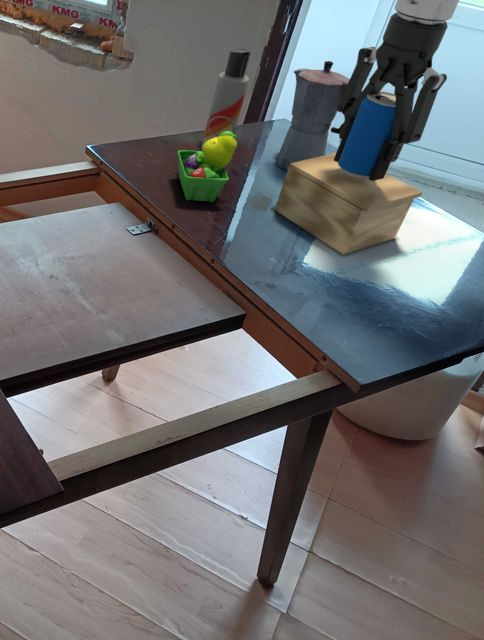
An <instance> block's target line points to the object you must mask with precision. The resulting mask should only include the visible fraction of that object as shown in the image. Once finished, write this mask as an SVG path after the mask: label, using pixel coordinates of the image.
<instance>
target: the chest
mask: <svg viewBox="0 0 484 640" xmlns="http://www.w3.org/2000/svg"><path fill="white" fill-rule="evenodd" d="M286 171H287V172H286V175H285V178H284V181H283V184H282V187H281V189H280V192H279V195H278V198H277V201H276V204H275V207H274V211H275V212H276V213H278V214H280V215H282V216H283V217H285V218H286V219H287V220H289V221H291V222H292V223H293V224H295V225H297V226H299V227H300V228H301V229H303V230H305V231H306V232H308V233H310V234H311V235H312V236H313V237H316V239H318V240H320V241H321V242H323V243H324V244H326V245H327V246H329V247H330V248H332V249H334V250H335V251H337V252H339V253H340V254H342V255H347V254H350V253H352V252H356V251H359V250H363V249H365V248H369V247H372V246H375V245H379V244H382V243H385V242H388V241H392V240H394V239H396V237H397V236H398V233H399V231H400V229H401V227H402V225H403V224H404V223H403V222H404V221H405V218H406V216H407V214H408V213H409V210H410V209H411V206H412V204H413V202H414V199H415V198H414V199H410V200H407V201H403V202H400V203H396V204H393V205H389V206H386V207H382V208H379V209H375V210H372V211H368V212H367V211H365V210H363V209H361V208H359V207H358V206H356V205H354V204H352V203H351V202H349V201H347V200H345V199H344V198H342V197H340V196H338V195H337V194H335V193H333V192H331V191H330V190H328V189H326V188H324V187H322V186H321V185H319V184H317V183H315V182H314V181H312V180H310V179H308V178H307V177H305V176H303V175H301V174H300V173H298V172H296V171H294V170H292V169H291V168H288V170H286Z"/></svg>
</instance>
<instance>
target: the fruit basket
mask: <svg viewBox="0 0 484 640" xmlns="http://www.w3.org/2000/svg"><path fill="white" fill-rule="evenodd" d="M236 138H237V135H236V134H235V133H234V134H233V133H232V132H231V131H225V132H223V133H222V134H220V135H219V137H215V138H212V139H210V140H208V141H206V142H205V143H204V145H203V147H202V146H201V147H202V148H203V151H202V150H191V149H189V150H188V149H180V150H178V151H177V158H178V178H179V181H180V185H181V188H182V191H183V194H184V198H185V200H186V201H195V202H211V203H214V202H215V200H216V199H217V197H218V196H219V194H220V192H221V191H222V190H223V187H224V185H225V184H227V182H228V180H229V176H228V174H227V170H226V169H225V167H226V166H227V165H228V164H229V163H230V161H232V158H233V155H234V152H235V150H236V148H237V145H238V144H237V143H238V142H237V140H236Z"/></svg>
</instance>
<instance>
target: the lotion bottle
mask: <svg viewBox="0 0 484 640" xmlns="http://www.w3.org/2000/svg"><path fill="white" fill-rule="evenodd" d="M251 55H252V52H251V51H250V50H248V49H245V48H237V49H231V50H230V51H229V54H228V58H227V61H226V66H225V70H224V71H222V72H219V75H218V77H217V81H216V85H215V89H214V93H213V96H212V97H213V98H212V101H211V105H210V110H209V112H208V113H209V114H208V117H207V122H206V126H205V129H204V134H203V138H202V142H201V148H200V151H202V152H203V148H202V147H203V145H204V143H205V142H206V141H208V140H210V139H212V138H215V137H219V135H220V134H222V133H223V132H225V131H231V132H232V133H233V134H234V135H235V133H236V129H237V127H238V122H239V119H240V115H241V111H242V108H243V103H244V100H245V96H246V93H247V89H248V86H249V82H250V78H249V76H248V75H246V74H247V70H248V66H249V62H250V58H251Z"/></svg>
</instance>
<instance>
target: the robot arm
mask: <svg viewBox="0 0 484 640" xmlns="http://www.w3.org/2000/svg"><path fill="white" fill-rule="evenodd" d="M459 2H460V0H396V2H395V4H394V11H395V12H394V13H393V14H391V15H390V17H389V20H388V22H387V24H386V28H385V30H384V33H383V34H382V35H383V36H382V43H381V44H380V45H379V46H378V47H377V48H376V46H369V47H362V48H360V49H359V50H358V53H357V60H356V64H355V67H354V69H353V71H352V73H351V76H350V78H349V79H350V80H349V82H348V85H347V87H346V89H345V91H344V93H343V96H342V98H341V100H340V102H339V104H338V107H337V110H338V111H337V113H341V114H342V115H343V116H344V121H343V122H342V124H343V126H342V129H341V131H340V134H338V139H340V142H339V145H338V147H337V150H336V152H335V153H336V155H335V158H334V161H336V162H338V161H339V159H340V156H341V154H342V151H343V148H344V146H345V143H346V141H347V138H348V136H349V133H350V130H351V128H352V125H353V123H354V120H355V117H356V115H357V112H358V110H359V107H360V105H361V102H362V101H363V99H365V98H366V97H367V95H368V93H369V94H370V95H372V94H377V93H379V92H380V91H381V92H382V90H383V88H385V86H386V85H388V84H390V85H391V86H392V87H394V90H393V91H394V92H393V94H395V95H396V101H395V105H396V107H395V116H394V119H393V126H392V135H391V139H387V140H385V141H384V144H383V146H382V148H381V151H380V153H379V155H378V158H377V160H376V162H375V165H374V167H373V169H372V172H371V174H370V177H369V180H371V181H375V180H379V179H383V178H384V176H385V174H387V172H388V169H389V168H390V165H391V163H395V162H396V161H397V160H398V159H399V157H400V154H401V152H402V150H403V148H404V145H407V144H411V143H416V142H419V141H421V139H422V137H423V133H424V131H425V128H426V125H427V123H428V120H429V117H430V114H431V112H432V108H433V106H434V104H435V102H436V101H435V100H436V97H437V95H438V93H439V91H440V89H441V88H442V87H443V86H444V84H445V83H446V81H447V79H448V75H447V74H446V73H439V72H438V71H436V70H435V69H434V68H433V59H434V58H433V57H434V55H435V53H436V52H437V51H438V49H439V48H440V45H441V44H442V41H443V38H444V36H445V34H446V32H447V30H448V26H449V25H448V22H447V21H449V20H451V19H452V18H453V16H454V13H455V11H456V9H457V7H458V4H459ZM375 63H376V65H377V68H376V70H375V71H374V72H373V73H372V75H371V76H370V74H371V72H372V69H373V67H374V64H375ZM369 76H370V78H369ZM368 78H369V79H368ZM421 78H423V80H422V81H421V83H420V84H421V88H420V89H419V91H418V86H419V80H420V79H421ZM367 81H368V83H367V84H366V82H367ZM361 91H362V92H361ZM417 92H418V94H417V97H416V101H415V103H414V100H415V94H416V93H417ZM360 93H361V94H360ZM375 97H376V96H375Z"/></svg>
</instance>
